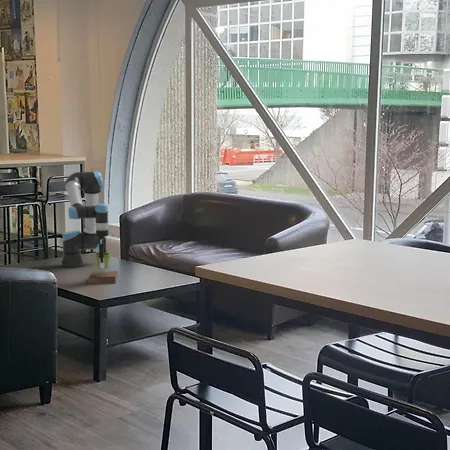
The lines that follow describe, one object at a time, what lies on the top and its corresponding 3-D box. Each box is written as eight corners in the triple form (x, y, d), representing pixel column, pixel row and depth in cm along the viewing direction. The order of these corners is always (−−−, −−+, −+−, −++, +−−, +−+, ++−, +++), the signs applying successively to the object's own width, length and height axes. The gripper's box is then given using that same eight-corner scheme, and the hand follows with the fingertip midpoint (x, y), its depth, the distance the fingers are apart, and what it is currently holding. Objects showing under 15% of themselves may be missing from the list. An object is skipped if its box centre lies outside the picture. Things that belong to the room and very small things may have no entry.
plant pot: (114, 267, 429) (113, 253, 428) (104, 270, 421) (103, 255, 420) (102, 266, 433) (102, 252, 432) (92, 268, 425) (91, 254, 424)
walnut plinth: (92, 278, 436) (92, 271, 435) (118, 277, 436) (118, 271, 436) (88, 283, 420) (88, 277, 419) (115, 283, 420) (115, 276, 420)
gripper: (98, 227, 434) (99, 263, 437) (93, 232, 413) (94, 270, 416) (110, 226, 435) (111, 262, 438) (106, 232, 413) (107, 269, 416)
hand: (103, 266), depth 427 cm, fingers closed on plant pot, 9 cm apart
